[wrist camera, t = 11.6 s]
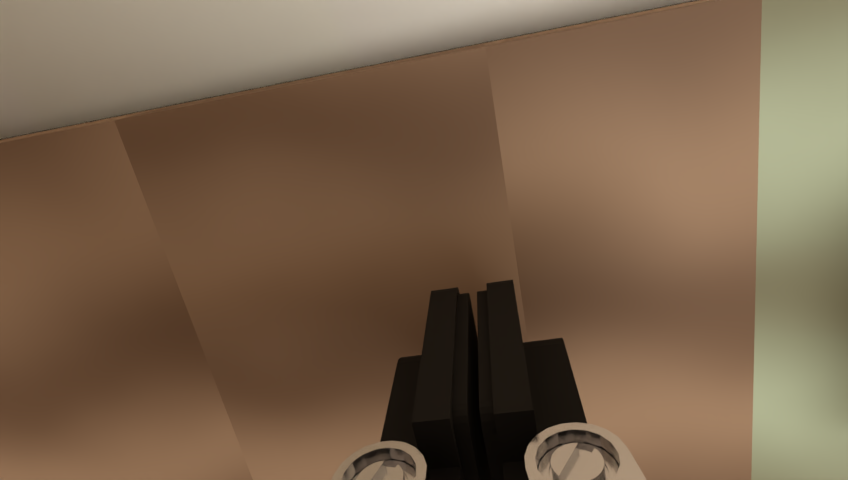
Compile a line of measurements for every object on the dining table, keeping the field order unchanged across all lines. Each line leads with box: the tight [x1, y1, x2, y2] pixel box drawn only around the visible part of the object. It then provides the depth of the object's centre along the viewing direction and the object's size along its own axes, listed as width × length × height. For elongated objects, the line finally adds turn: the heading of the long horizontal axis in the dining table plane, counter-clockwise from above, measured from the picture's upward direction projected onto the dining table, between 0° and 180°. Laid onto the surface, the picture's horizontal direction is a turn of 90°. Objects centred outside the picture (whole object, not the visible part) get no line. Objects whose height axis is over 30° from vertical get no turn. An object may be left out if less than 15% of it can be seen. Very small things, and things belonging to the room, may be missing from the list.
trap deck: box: [0, 0, 848, 480], centre depth 16 cm, size 24×52×2 cm, turn 101°
